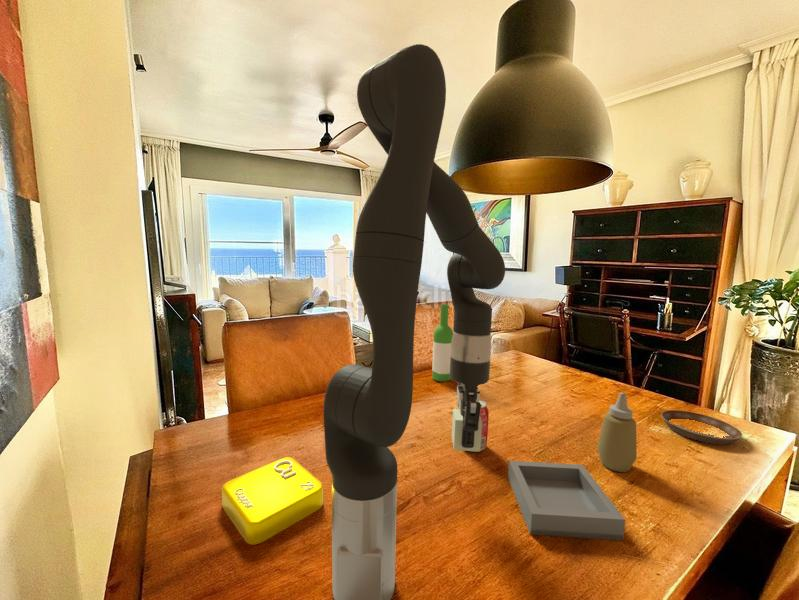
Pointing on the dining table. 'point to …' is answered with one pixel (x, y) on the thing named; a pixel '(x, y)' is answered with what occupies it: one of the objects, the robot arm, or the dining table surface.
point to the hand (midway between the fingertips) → (465, 438)
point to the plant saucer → (678, 414)
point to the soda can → (483, 424)
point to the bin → (564, 501)
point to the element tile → (271, 499)
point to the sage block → (458, 433)
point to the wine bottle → (442, 348)
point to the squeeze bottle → (618, 437)
